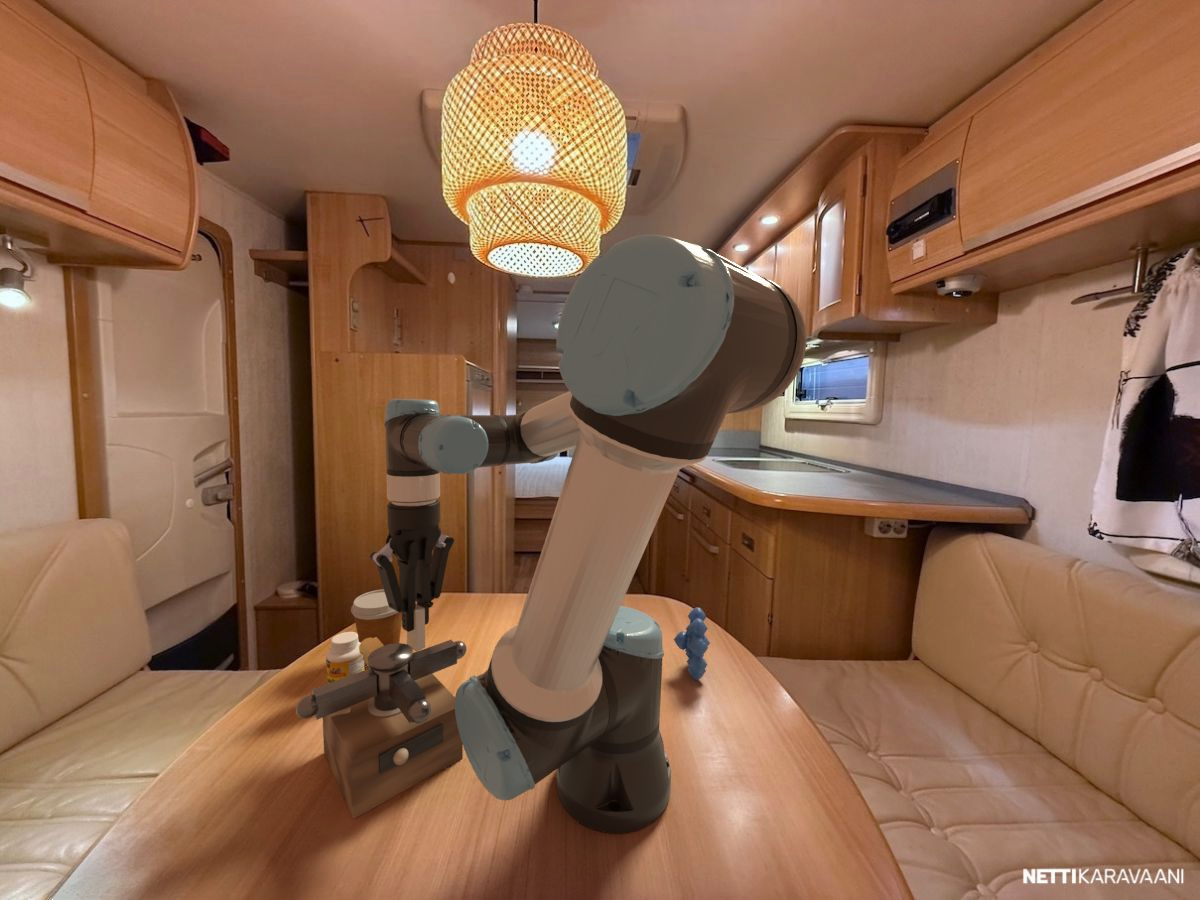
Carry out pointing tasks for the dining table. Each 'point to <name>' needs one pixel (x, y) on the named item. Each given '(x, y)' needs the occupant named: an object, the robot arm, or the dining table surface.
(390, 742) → the stand
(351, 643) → the supplement bottle
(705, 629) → the grapes
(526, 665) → the robot arm
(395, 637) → the disposable coffee cup
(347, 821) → the dining table surface
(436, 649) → the capstan
